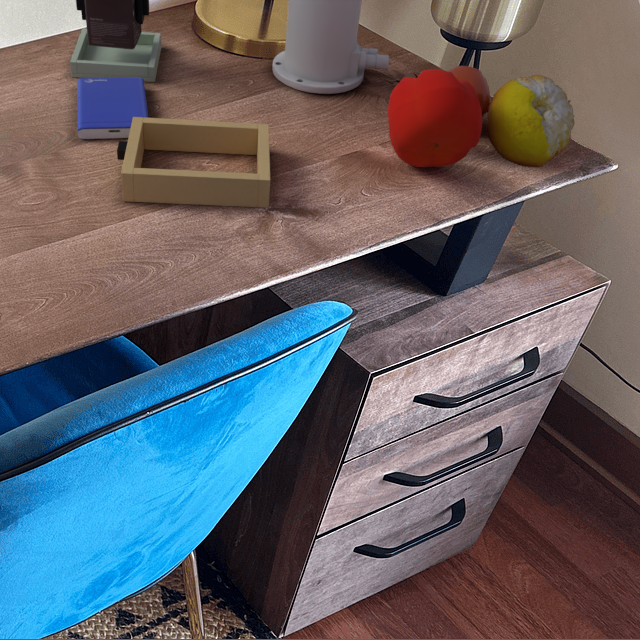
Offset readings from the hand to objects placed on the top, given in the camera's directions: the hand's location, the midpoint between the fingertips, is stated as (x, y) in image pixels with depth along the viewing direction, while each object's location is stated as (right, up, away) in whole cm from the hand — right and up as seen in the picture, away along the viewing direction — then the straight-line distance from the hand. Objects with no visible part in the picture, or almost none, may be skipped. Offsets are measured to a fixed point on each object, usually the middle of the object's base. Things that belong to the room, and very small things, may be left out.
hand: (113, 16), depth 107 cm
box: (0, -2, +2) cm, 3 cm away
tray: (0, -5, +4) cm, 6 cm away
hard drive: (+1, -14, -6) cm, 15 cm away
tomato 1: (+40, -21, -14) cm, 47 cm away
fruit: (+52, -16, -4) cm, 55 cm away
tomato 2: (+45, -7, -2) cm, 46 cm away
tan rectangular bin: (+13, -23, -15) cm, 30 cm away
